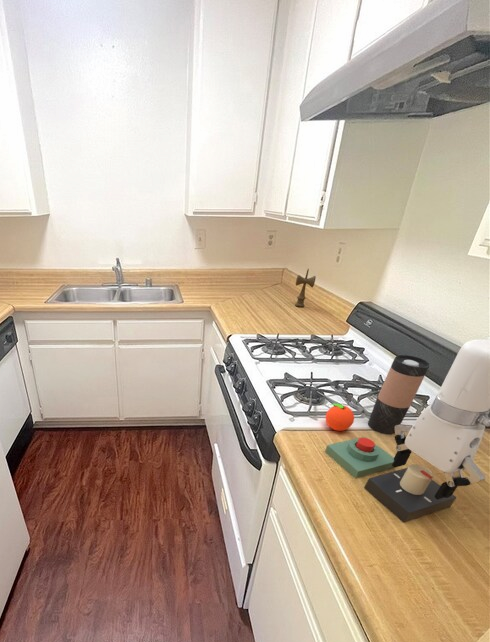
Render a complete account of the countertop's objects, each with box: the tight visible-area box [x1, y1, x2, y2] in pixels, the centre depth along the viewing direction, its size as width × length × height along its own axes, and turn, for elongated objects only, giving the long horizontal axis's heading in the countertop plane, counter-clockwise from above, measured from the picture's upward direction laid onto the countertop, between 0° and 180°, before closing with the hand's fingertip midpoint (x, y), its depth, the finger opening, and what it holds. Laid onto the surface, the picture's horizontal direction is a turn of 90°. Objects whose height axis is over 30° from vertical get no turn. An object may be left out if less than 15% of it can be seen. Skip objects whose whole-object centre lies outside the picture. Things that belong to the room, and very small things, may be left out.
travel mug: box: [367, 354, 430, 435], centre depth 90 cm, size 8×8×20 cm
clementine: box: [325, 403, 355, 432], centre depth 93 cm, size 8×7×7 cm
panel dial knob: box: [400, 463, 434, 495], centre depth 71 cm, size 4×4×5 cm
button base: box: [324, 436, 395, 479], centre depth 83 cm, size 12×10×4 cm
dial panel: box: [363, 467, 457, 523], centre depth 73 cm, size 13×10×3 cm
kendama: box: [294, 268, 317, 308], centre depth 191 cm, size 6×10×20 cm, turn 71°
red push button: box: [356, 437, 376, 453], centre depth 81 cm, size 4×4×2 cm
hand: (418, 480), depth 71 cm, fingers open, 9 cm apart
